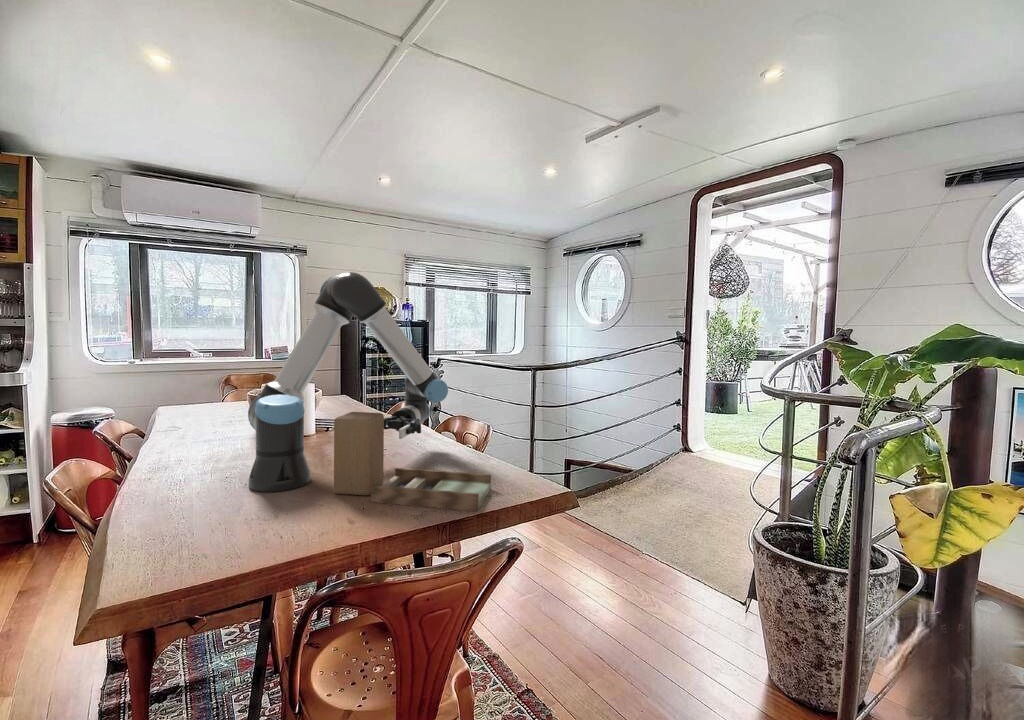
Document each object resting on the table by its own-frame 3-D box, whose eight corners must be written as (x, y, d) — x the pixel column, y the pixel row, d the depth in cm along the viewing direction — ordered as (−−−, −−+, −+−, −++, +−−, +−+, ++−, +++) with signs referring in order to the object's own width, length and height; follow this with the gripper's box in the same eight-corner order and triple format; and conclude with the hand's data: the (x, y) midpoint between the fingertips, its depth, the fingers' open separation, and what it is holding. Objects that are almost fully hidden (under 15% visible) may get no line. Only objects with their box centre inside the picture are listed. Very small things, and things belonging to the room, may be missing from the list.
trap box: (370, 502, 113) (370, 486, 113) (396, 481, 129) (396, 467, 128) (477, 511, 109) (477, 494, 109) (490, 488, 125) (491, 474, 124)
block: (384, 484, 126) (385, 412, 125) (369, 497, 116) (370, 419, 115) (349, 482, 127) (350, 411, 126) (332, 494, 117) (332, 417, 116)
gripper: (441, 431, 150) (419, 448, 129) (370, 428, 154) (337, 443, 133) (441, 409, 150) (419, 422, 129) (370, 406, 154) (336, 418, 133)
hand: (377, 433), depth 131 cm, fingers open, 13 cm apart
